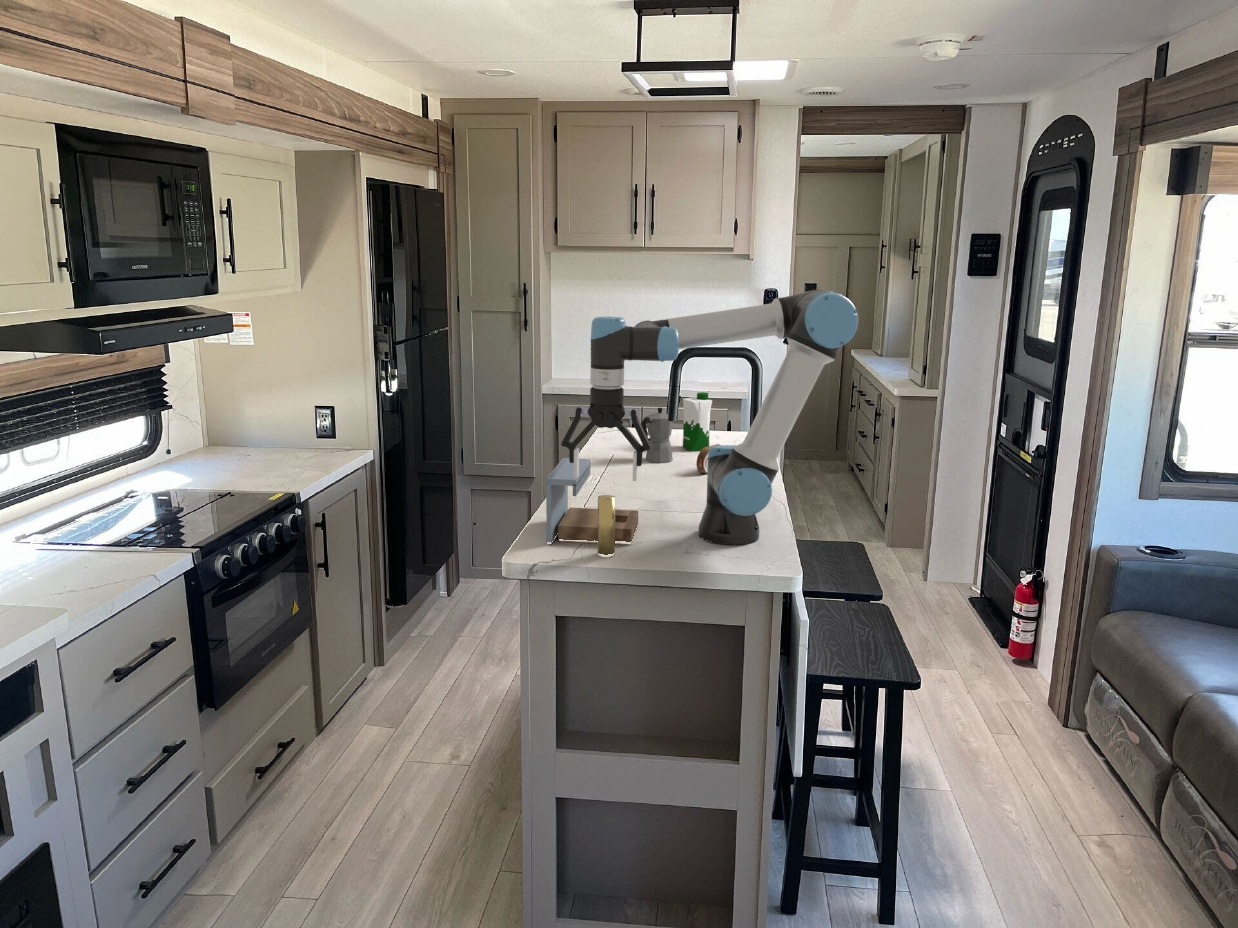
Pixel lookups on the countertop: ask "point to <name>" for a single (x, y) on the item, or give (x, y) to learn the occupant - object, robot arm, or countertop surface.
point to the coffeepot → (658, 437)
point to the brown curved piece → (703, 460)
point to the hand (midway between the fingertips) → (605, 478)
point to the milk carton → (696, 422)
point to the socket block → (596, 524)
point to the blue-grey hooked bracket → (562, 491)
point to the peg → (606, 524)
